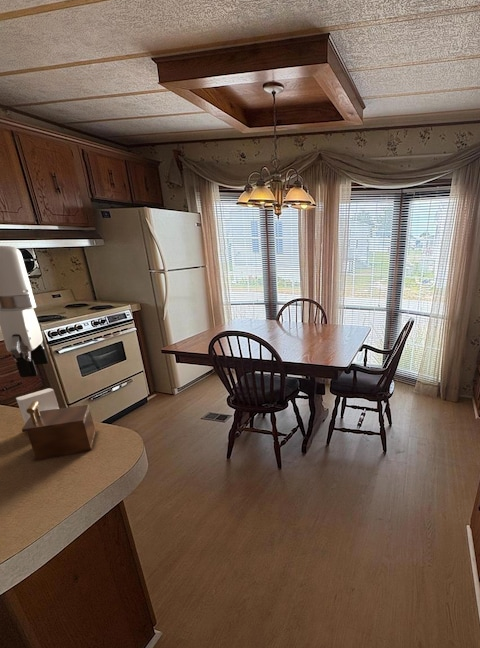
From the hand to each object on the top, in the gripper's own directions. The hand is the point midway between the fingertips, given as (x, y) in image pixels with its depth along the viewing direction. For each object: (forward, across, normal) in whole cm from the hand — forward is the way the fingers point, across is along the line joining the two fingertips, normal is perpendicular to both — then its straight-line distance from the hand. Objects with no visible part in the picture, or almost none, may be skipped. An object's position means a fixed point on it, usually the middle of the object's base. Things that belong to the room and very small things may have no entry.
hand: (35, 369), depth 87 cm
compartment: (+24, -3, +1) cm, 25 cm away
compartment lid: (+16, -3, +1) cm, 16 cm away
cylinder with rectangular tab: (+25, -16, -7) cm, 30 cm away
